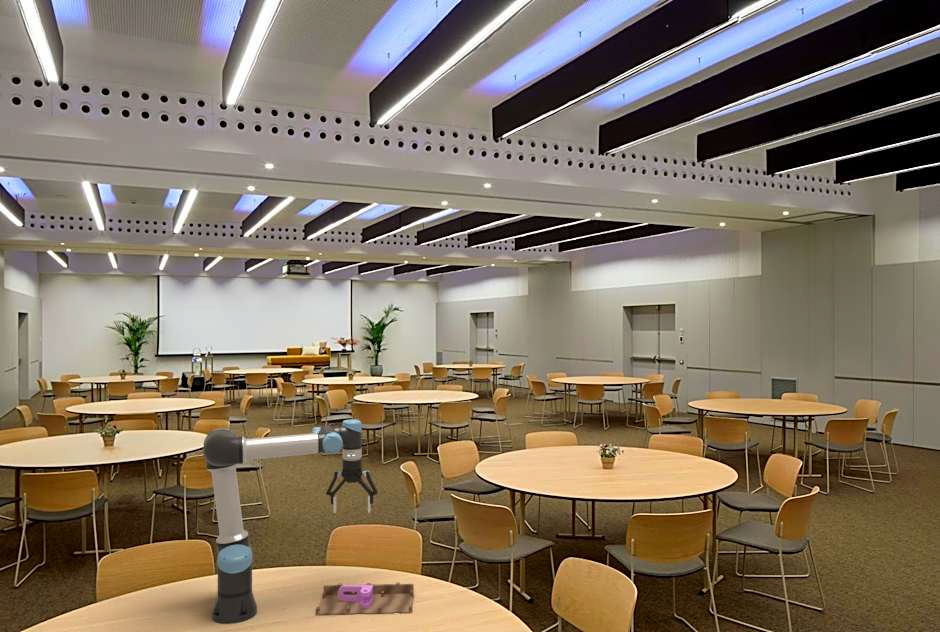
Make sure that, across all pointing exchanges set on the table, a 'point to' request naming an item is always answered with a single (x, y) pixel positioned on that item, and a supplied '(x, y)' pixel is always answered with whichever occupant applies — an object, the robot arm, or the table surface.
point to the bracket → (362, 595)
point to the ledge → (384, 602)
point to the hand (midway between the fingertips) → (352, 512)
